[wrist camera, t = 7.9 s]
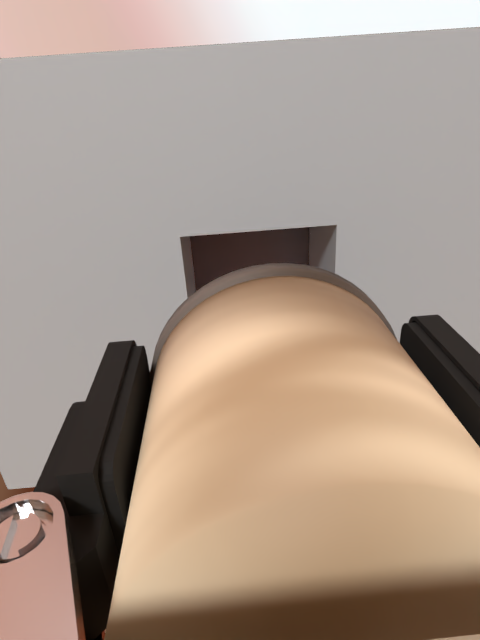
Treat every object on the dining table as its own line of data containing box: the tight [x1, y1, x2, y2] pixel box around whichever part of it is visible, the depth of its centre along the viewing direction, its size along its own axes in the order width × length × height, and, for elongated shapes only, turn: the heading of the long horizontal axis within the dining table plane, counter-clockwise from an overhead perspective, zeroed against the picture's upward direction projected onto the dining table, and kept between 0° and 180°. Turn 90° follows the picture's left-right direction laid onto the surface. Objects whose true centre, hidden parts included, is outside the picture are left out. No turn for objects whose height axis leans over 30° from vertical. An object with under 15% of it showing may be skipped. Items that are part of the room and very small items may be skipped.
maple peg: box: [104, 263, 480, 640], centre depth 9 cm, size 6×6×9 cm
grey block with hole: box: [0, 27, 480, 489], centre depth 16 cm, size 20×14×4 cm
